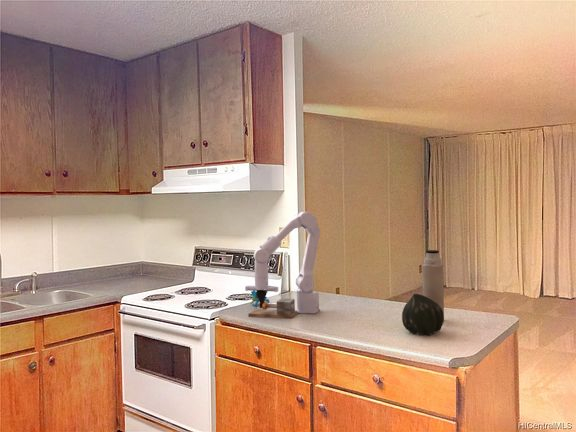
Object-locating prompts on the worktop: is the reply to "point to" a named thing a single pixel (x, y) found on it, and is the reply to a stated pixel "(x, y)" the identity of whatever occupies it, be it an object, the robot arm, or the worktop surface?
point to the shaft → (270, 305)
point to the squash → (422, 315)
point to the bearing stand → (282, 310)
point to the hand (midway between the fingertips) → (262, 307)
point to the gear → (257, 298)
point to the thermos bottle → (433, 278)
